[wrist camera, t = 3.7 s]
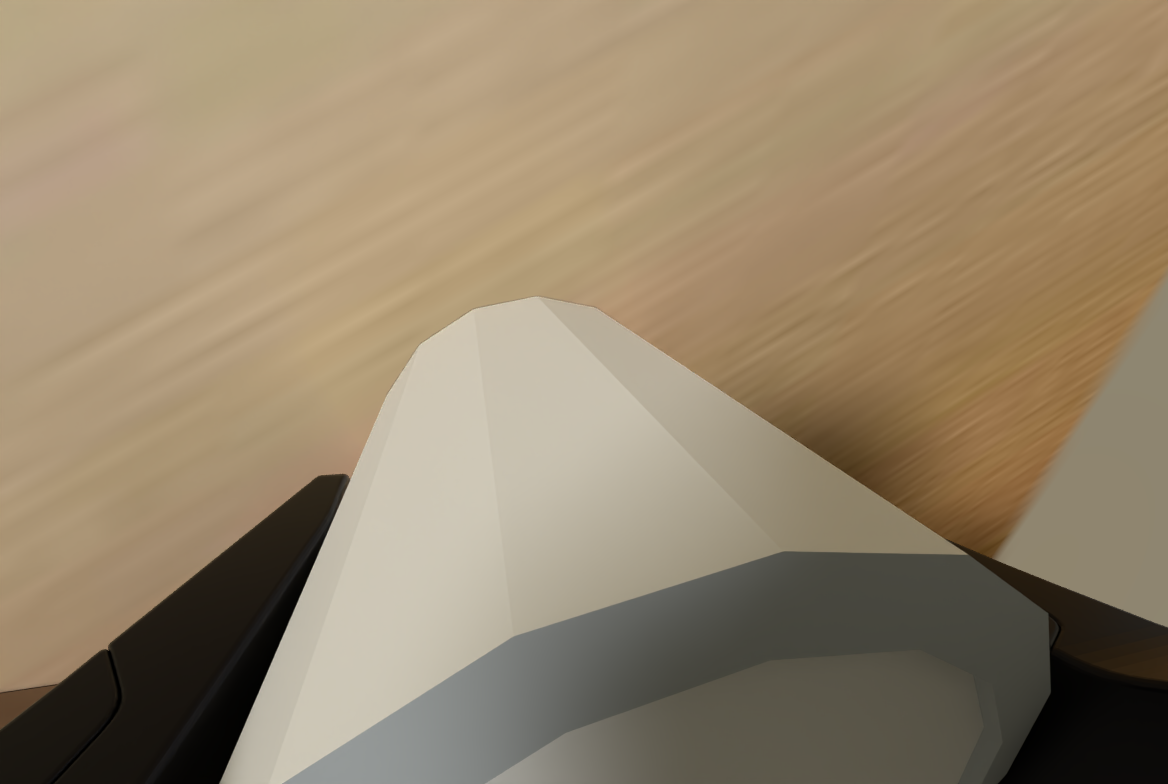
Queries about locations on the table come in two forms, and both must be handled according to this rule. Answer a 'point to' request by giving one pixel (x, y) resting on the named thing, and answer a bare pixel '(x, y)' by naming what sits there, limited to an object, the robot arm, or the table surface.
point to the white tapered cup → (627, 593)
